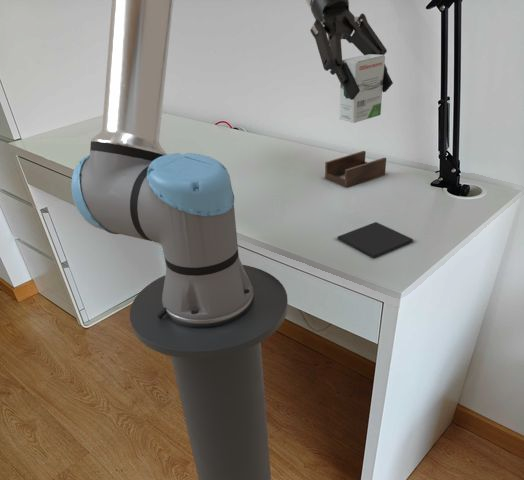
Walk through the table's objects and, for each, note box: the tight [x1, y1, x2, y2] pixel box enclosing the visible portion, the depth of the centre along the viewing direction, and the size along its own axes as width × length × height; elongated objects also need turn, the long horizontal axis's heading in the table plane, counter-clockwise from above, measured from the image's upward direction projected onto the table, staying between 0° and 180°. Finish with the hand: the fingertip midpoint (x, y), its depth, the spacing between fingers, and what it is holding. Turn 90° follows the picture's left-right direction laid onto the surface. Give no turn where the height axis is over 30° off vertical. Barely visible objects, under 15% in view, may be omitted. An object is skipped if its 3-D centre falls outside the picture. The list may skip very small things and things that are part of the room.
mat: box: [337, 221, 414, 259], centre depth 95 cm, size 10×10×1 cm
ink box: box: [339, 54, 386, 124], centre depth 107 cm, size 9×5×12 cm, turn 126°
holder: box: [324, 150, 387, 188], centre depth 121 cm, size 12×8×4 cm, turn 124°
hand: (371, 91), depth 105 cm, fingers closed on ink box, 9 cm apart
